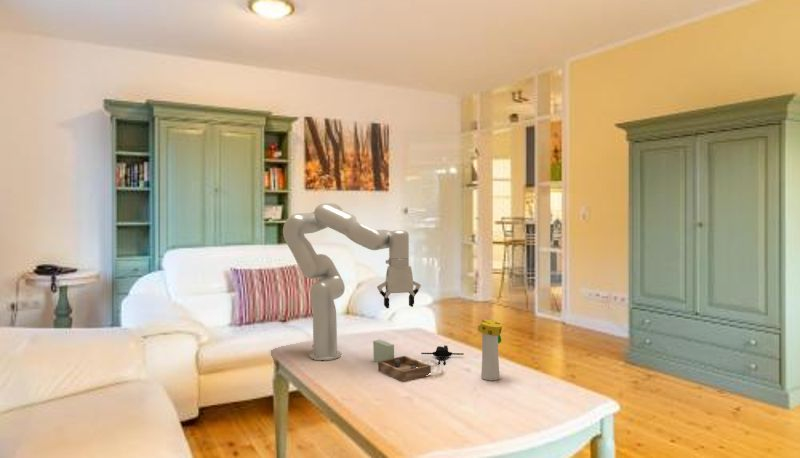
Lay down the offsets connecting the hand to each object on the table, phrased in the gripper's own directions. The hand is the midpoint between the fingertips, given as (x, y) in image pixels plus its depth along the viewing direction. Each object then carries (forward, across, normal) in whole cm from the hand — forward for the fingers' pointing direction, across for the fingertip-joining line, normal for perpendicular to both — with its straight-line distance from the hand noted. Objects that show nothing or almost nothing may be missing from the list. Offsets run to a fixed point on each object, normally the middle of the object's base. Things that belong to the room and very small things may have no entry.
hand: (399, 307), depth 201 cm
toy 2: (+22, +25, -28) cm, 43 cm away
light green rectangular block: (+22, -6, +2) cm, 23 cm away
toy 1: (+22, +17, -1) cm, 28 cm away
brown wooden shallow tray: (+22, -2, -12) cm, 25 cm away
